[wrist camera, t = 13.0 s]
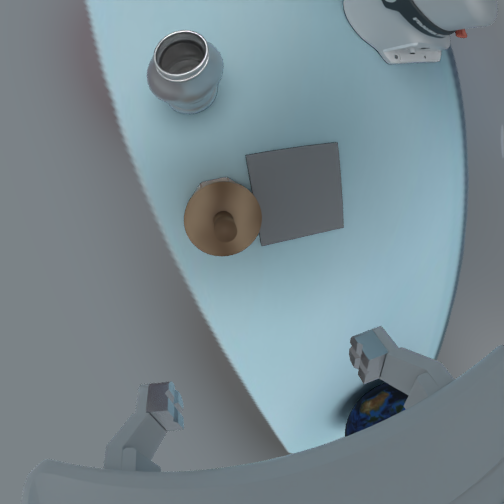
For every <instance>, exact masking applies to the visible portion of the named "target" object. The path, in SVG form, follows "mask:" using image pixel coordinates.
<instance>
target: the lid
mask: <svg viewBox="0 0 504 504" xmlns="http://www.w3.org/2000/svg"><path fill="white" fill-rule="evenodd" d="M261 223H262V213H261V208H260V205H259V203H258V201H257V199H256V198H255V196H254V195H253V194H252V193H251V192H250V191H249V190H248V189H247V188H245V187H244V186H242V185H240V184H238V183H235V182H231V181H217V182H212V183H209V184H207V185H205V186H203V187H202V188H200V189H199V190H198V191H196V192H195V193H194V195H193V196H192V197H191V198H190V200H189V202H188V204H187V206H186V210H185V215H184V226H185V230H186V233H187V235H188V237H189V239H190V241H191V242H192V243H193V244H194V245H195V246H196V247H197V248H198V249H200V250H201V251H203V252H205V253H207V254H210V255H214V256H229V255H233V254H236V253H239V252H241V251H243V250H244V249H246V248H247V247H248V246H249V245H250V244H251V243H252V242H253V241H254V240H255V239H256V237H257V235H258V233H259V231H260V228H261Z"/></svg>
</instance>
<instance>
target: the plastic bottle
mask: <svg viewBox="0 0 504 504" xmlns="http://www.w3.org/2000/svg"><path fill="white" fill-rule="evenodd" d="M222 73H223V59H222V57H221V54H220V53H219V51H218V50H217V48H216V47H214V46H213V45H212V44H211V43H209V42H207V41H206V40H205V39H204V37H203V36H201V35H200V34H198V33H197V32H194V31H189V30H181V31H176V32H173V33H171V34H169V35H167V36H166V37H164V38H163V39H162V40H161V41H160V42H159V43H158V45H157V47H156V48H155V51H154V55H153V57H152V59H151V61H150V63H149V66H148V69H147V82H148V85H149V88H150V90H151V91H152V93H153V94H154V95H155V96H156V97H157V98H158V99H160V100H162V101H164V102H167V103H168V104H169V105H170V107H171V108H173V109H174V110H175V111H177V112H179V113H183V114H194V113H198V112H200V111H203V110H204V109H206V108H207V107H208V106H209V105H211V103H212V102H213V101H214V99H215V97H216V94H217V89H218V86H217V85H218V83H219V81H220V79H221V77H222Z"/></svg>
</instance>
